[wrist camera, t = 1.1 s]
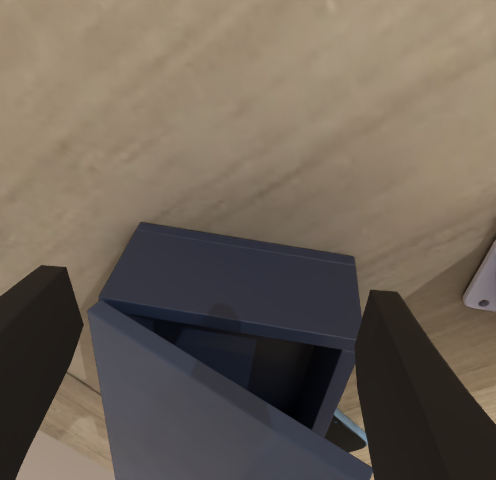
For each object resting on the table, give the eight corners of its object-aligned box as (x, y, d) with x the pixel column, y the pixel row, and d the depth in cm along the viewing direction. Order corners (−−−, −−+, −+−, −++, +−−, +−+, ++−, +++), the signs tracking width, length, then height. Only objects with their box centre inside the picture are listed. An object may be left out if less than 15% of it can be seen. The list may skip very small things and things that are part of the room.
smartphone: (172, 452, 37) (315, 398, 30) (175, 442, 38) (315, 387, 31) (231, 489, 40) (375, 448, 33) (232, 479, 41) (373, 437, 33)
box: (354, 256, 23) (365, 341, 18) (300, 415, 32) (298, 498, 28) (140, 221, 23) (97, 296, 19) (148, 389, 33) (121, 467, 28)
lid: (374, 467, 14) (366, 489, 14) (292, 602, 24) (286, 618, 23) (100, 298, 19) (86, 309, 18) (123, 468, 28) (114, 479, 28)
